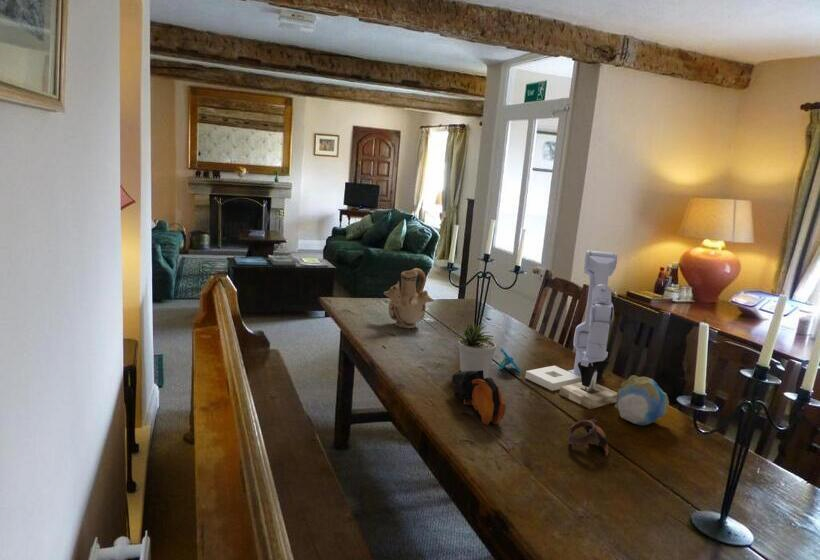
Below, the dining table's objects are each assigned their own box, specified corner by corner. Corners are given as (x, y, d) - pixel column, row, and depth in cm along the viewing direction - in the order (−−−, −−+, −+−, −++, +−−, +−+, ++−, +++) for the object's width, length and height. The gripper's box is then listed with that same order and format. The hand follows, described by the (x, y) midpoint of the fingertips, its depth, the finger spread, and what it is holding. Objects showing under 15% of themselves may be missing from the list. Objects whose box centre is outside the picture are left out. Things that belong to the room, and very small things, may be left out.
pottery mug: (610, 464, 137) (597, 436, 135) (573, 468, 142) (560, 442, 140) (614, 433, 147) (602, 407, 145) (579, 438, 152) (567, 413, 150)
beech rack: (587, 387, 185) (588, 380, 185) (618, 401, 176) (620, 393, 175) (559, 394, 177) (560, 386, 177) (590, 409, 168) (591, 401, 167)
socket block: (553, 372, 197) (554, 365, 197) (580, 384, 188) (581, 377, 187) (525, 377, 190) (526, 371, 189) (552, 390, 180) (553, 383, 179)
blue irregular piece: (524, 372, 190) (505, 349, 190) (511, 383, 191) (492, 361, 190) (518, 365, 202) (500, 344, 201) (506, 375, 202) (488, 354, 201)
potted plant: (454, 366, 195) (459, 311, 191) (493, 372, 193) (500, 316, 189) (449, 379, 183) (454, 320, 179) (491, 385, 180) (498, 325, 177)
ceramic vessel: (381, 319, 247) (385, 264, 242) (422, 320, 252) (427, 265, 247) (388, 332, 230) (393, 272, 225) (433, 332, 234) (438, 274, 229)
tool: (473, 420, 171) (469, 370, 173) (511, 424, 150) (507, 367, 152) (448, 421, 168) (446, 371, 170) (484, 426, 147) (481, 369, 150)
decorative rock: (635, 376, 153) (681, 377, 157) (600, 373, 168) (642, 373, 172) (636, 428, 151) (682, 428, 155) (601, 420, 166) (643, 419, 170)
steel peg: (586, 394, 179) (590, 368, 177) (595, 397, 177) (599, 371, 175) (581, 397, 176) (585, 370, 175) (590, 400, 175) (594, 373, 173)
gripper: (595, 334, 181) (589, 374, 183) (574, 342, 170) (568, 384, 173) (616, 340, 176) (610, 380, 179) (596, 348, 166) (589, 391, 168)
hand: (591, 383), depth 176 cm, fingers open, 7 cm apart
